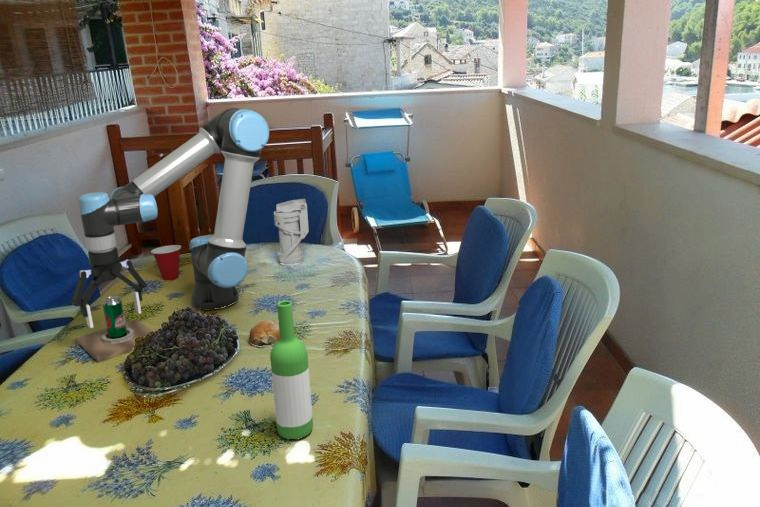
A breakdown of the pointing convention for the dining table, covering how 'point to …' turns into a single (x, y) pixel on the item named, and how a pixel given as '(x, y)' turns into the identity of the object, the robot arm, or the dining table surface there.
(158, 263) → the plastic cup
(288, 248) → the grey tall angular piece
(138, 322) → the collar board
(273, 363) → the wine bottle
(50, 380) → the dining table surface
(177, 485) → the dining table surface
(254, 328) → the bread roll
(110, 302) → the soda can
